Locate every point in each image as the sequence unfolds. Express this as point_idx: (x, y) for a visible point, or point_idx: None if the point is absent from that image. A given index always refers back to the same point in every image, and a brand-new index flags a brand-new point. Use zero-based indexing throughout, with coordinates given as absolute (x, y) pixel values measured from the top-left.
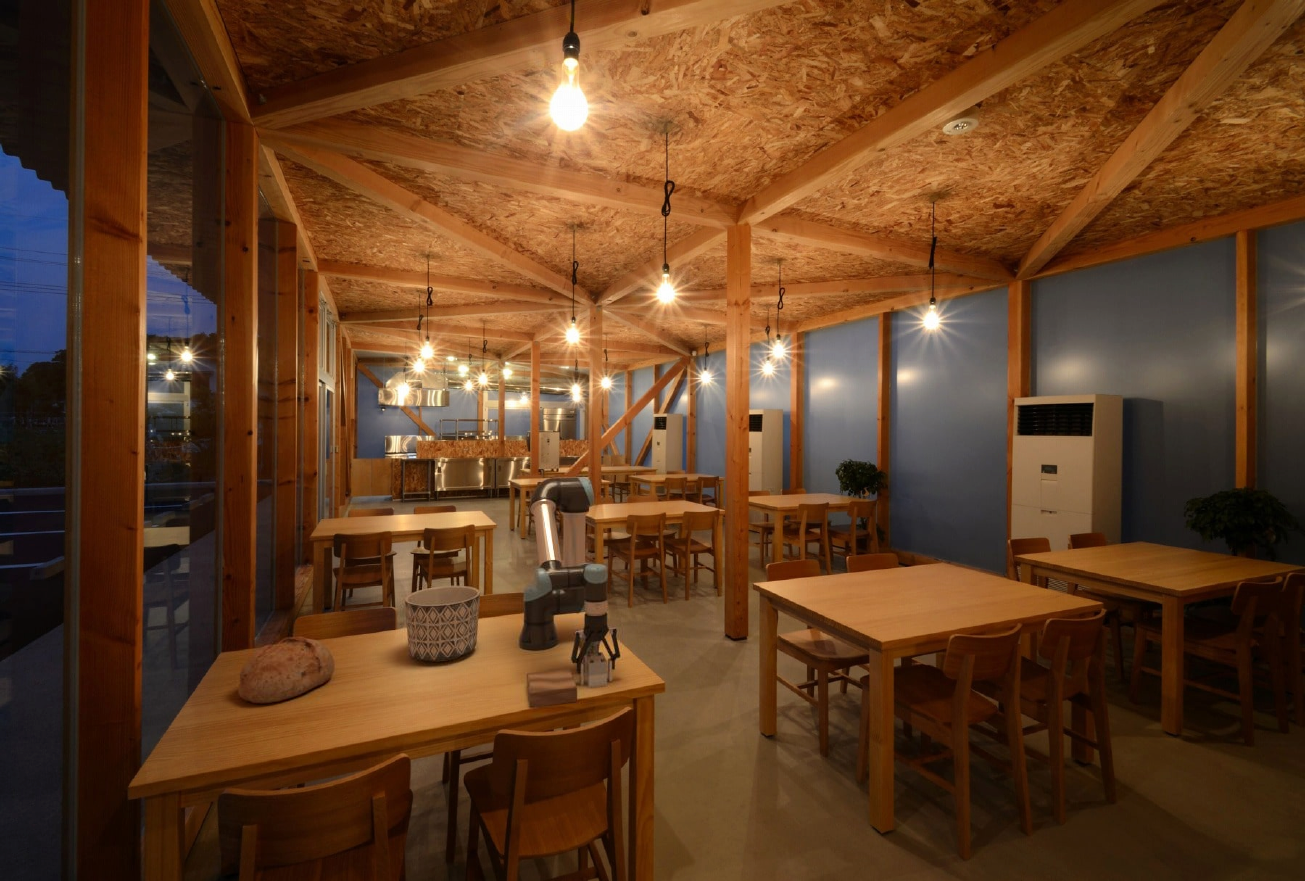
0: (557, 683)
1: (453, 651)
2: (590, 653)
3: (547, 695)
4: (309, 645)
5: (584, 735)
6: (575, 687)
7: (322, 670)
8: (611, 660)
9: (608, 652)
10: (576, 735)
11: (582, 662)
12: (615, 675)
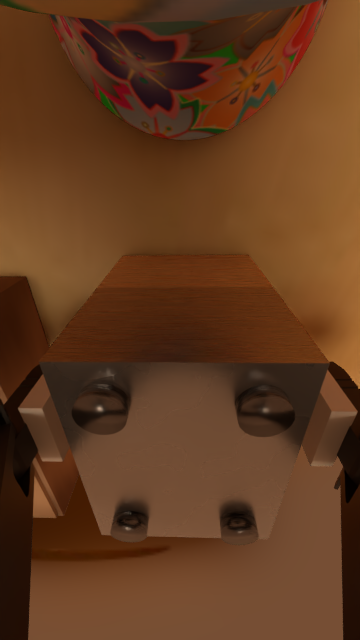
0: None
1: None
2: (131, 363)
3: None
4: None
5: (110, 558)
6: (54, 516)
7: None
8: (338, 453)
9: (347, 579)
10: (91, 555)
11: (49, 429)
12: (335, 276)
